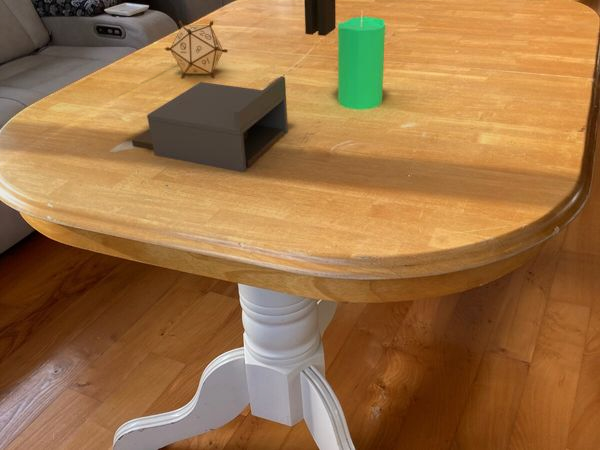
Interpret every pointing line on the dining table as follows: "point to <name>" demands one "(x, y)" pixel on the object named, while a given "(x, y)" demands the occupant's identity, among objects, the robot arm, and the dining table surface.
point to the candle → (361, 62)
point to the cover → (216, 122)
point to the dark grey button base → (254, 138)
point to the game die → (196, 49)
